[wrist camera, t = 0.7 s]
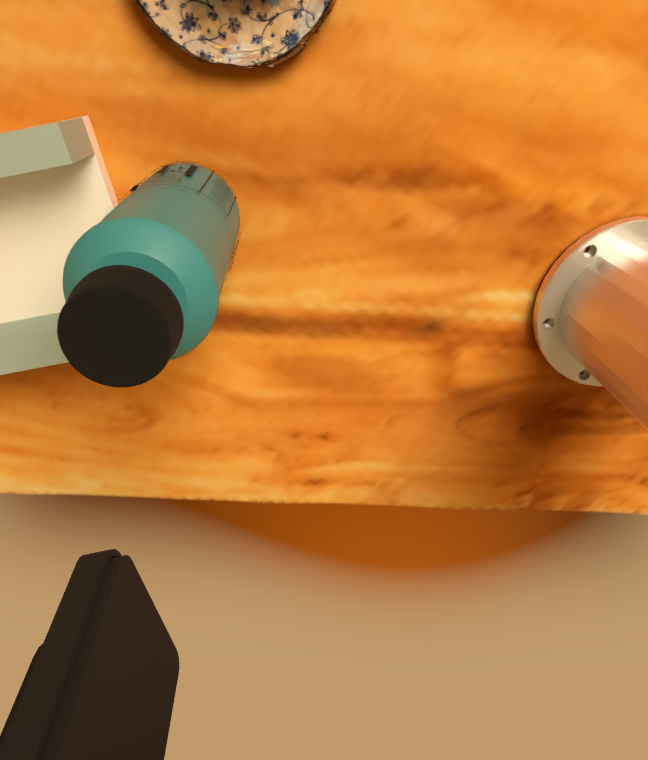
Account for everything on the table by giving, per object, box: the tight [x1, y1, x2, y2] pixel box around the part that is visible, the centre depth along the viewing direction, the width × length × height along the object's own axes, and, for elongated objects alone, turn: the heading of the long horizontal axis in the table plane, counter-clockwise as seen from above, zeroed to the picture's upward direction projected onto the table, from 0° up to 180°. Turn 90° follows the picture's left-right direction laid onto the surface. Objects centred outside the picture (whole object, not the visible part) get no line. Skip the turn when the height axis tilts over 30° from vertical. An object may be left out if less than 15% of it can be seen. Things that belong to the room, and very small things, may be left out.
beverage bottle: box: [57, 161, 240, 387], centre depth 28 cm, size 6×7×20 cm
